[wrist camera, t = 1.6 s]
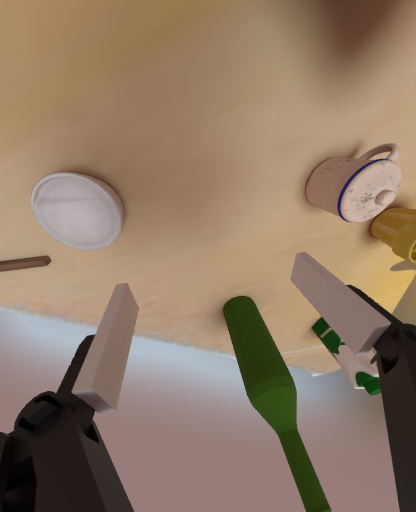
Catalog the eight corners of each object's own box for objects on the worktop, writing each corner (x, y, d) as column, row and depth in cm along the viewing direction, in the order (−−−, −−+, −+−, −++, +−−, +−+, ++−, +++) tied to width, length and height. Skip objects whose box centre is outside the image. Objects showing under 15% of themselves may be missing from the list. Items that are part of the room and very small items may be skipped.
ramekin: (84, 151, 25) (65, 152, 21) (143, 211, 31) (138, 222, 26) (36, 199, 27) (9, 209, 23) (99, 247, 33) (88, 263, 29)
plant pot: (417, 196, 38) (483, 210, 30) (392, 238, 44) (442, 260, 36) (374, 201, 37) (431, 216, 29) (355, 243, 43) (398, 267, 34)
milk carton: (324, 312, 56) (387, 382, 39) (343, 315, 59) (409, 382, 42) (307, 329, 60) (358, 399, 43) (326, 331, 63) (380, 398, 46)
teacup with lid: (320, 215, 37) (373, 240, 27) (294, 190, 33) (344, 209, 23) (372, 161, 32) (457, 168, 23) (348, 126, 29) (438, 116, 19)
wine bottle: (241, 321, 52) (314, 514, 25) (216, 313, 48) (270, 530, 21) (260, 301, 48) (370, 500, 21) (235, 291, 45) (328, 516, 18)
